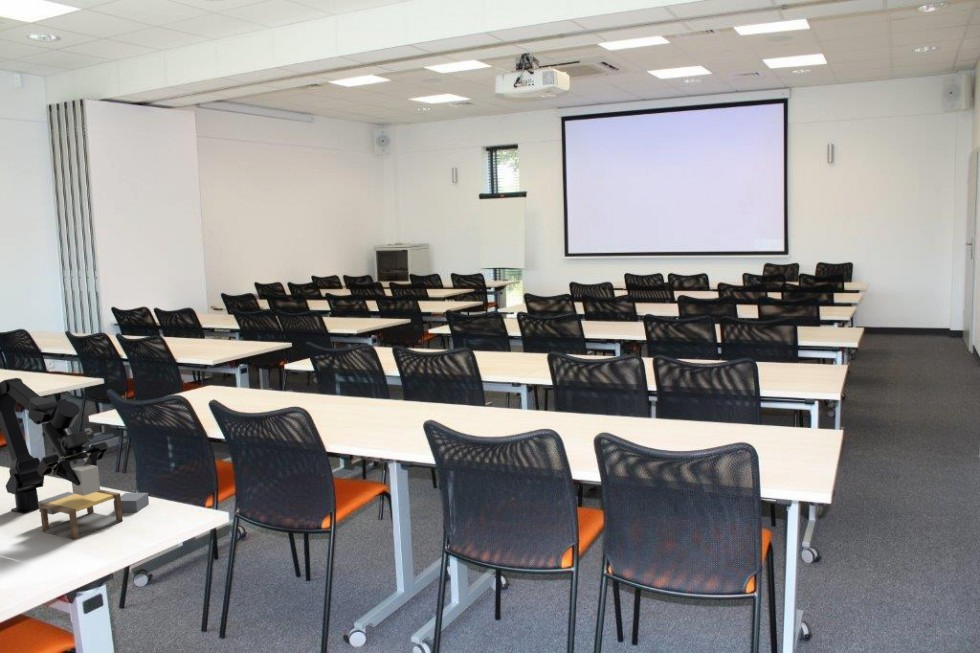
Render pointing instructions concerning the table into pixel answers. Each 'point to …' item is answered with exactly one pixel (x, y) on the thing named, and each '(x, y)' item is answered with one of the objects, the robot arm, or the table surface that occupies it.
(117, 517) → the frame
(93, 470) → the grey upright block
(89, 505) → the trapdoor
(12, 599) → the table surface
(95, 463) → the robot arm
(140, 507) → the plinth
